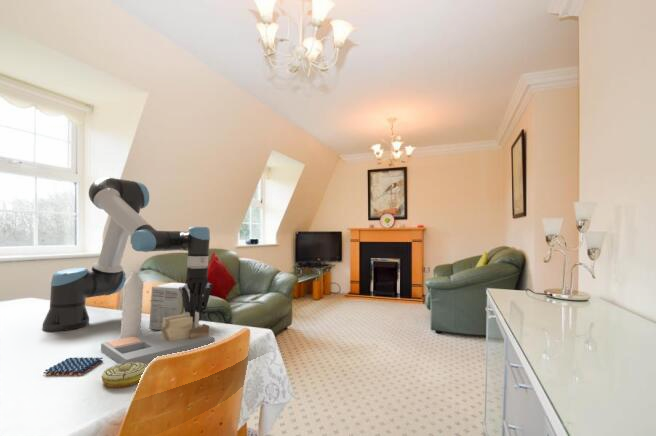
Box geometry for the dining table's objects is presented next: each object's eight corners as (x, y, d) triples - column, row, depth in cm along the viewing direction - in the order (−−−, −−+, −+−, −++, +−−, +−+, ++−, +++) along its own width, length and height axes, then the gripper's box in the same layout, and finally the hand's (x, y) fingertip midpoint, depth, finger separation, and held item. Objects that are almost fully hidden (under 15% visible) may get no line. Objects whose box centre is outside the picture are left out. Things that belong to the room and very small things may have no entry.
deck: (100, 350, 109) (101, 342, 109) (184, 332, 132) (184, 325, 132) (125, 368, 96) (126, 359, 96) (214, 344, 118) (214, 337, 119)
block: (161, 337, 116) (162, 318, 117) (183, 333, 123) (184, 314, 123) (169, 341, 113) (170, 321, 113) (191, 336, 119) (192, 317, 119)
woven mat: (67, 363, 100) (68, 356, 100) (104, 363, 101) (104, 356, 101) (40, 378, 89) (41, 370, 89) (81, 377, 90) (82, 370, 90)
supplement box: (176, 332, 132) (179, 288, 133) (148, 329, 135) (151, 286, 136) (196, 323, 145) (198, 283, 146) (170, 321, 148) (172, 282, 149)
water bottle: (119, 341, 119) (123, 272, 121) (121, 335, 125) (125, 270, 126) (146, 338, 123) (150, 271, 125) (147, 333, 129) (150, 269, 130)
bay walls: (174, 332, 123) (174, 323, 123) (191, 328, 129) (192, 319, 129) (190, 339, 116) (191, 329, 116) (208, 335, 121) (209, 325, 121)
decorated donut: (127, 370, 95) (128, 357, 95) (156, 376, 92) (157, 362, 92) (91, 385, 85) (92, 370, 85) (122, 392, 82) (123, 377, 82)
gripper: (186, 269, 117) (183, 335, 116) (218, 266, 127) (215, 328, 126) (176, 267, 122) (172, 331, 120) (207, 265, 132) (204, 324, 131)
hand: (194, 329), depth 123 cm, fingers closed
